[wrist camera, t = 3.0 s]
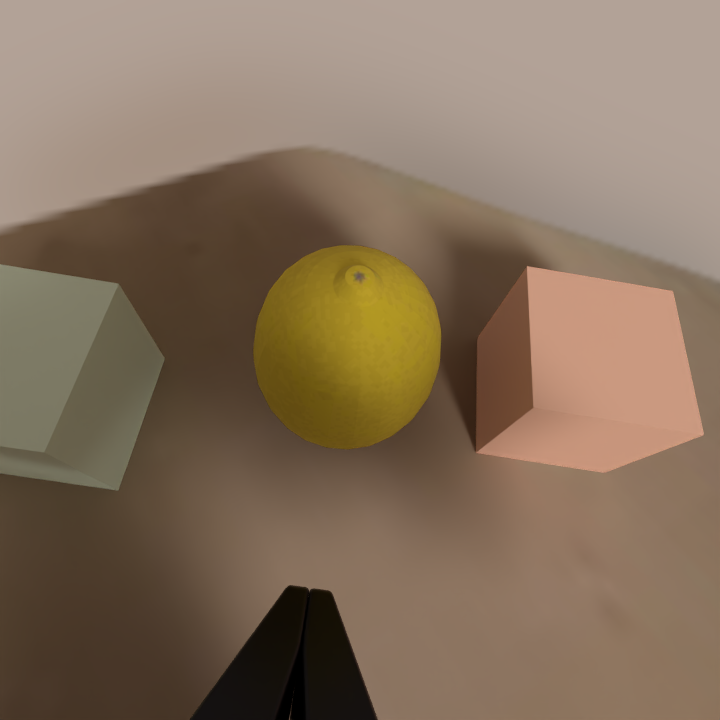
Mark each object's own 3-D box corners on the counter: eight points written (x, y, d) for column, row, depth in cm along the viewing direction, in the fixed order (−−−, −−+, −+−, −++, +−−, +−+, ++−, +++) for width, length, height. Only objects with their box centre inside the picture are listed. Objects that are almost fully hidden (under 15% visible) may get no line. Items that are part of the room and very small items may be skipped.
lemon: (250, 355, 18) (214, 205, 11) (382, 324, 19) (426, 171, 12) (285, 494, 16) (268, 419, 9) (431, 449, 17) (519, 352, 10)
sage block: (119, 491, 16) (44, 452, 11) (-33, 468, 15) (-171, 420, 11) (165, 359, 18) (118, 283, 13) (33, 338, 18) (-59, 254, 13)
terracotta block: (603, 473, 18) (703, 435, 13) (475, 453, 18) (533, 407, 13) (590, 357, 20) (673, 291, 15) (476, 338, 20) (527, 266, 15)
